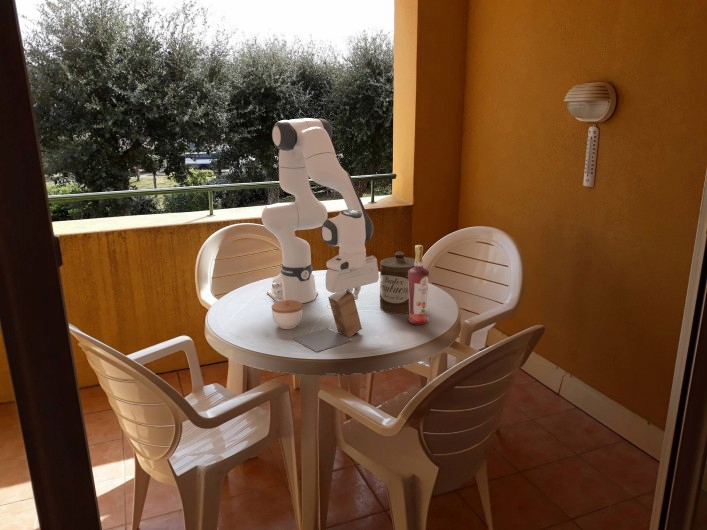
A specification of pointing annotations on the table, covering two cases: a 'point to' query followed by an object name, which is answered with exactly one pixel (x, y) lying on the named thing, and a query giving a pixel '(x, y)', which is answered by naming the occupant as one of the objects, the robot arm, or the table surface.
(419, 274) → the liquor
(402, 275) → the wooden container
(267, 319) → the table surface
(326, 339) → the slate mat
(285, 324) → the lidded jar
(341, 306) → the walnut block
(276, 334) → the table surface
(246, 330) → the table surface
